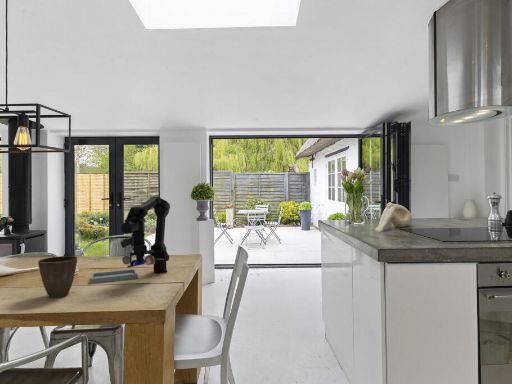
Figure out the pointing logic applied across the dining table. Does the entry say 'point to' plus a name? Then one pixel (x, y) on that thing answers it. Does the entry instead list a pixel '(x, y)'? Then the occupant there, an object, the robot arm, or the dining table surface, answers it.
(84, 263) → the dining table surface
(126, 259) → the figurine character
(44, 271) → the plant pot
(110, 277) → the cradle
